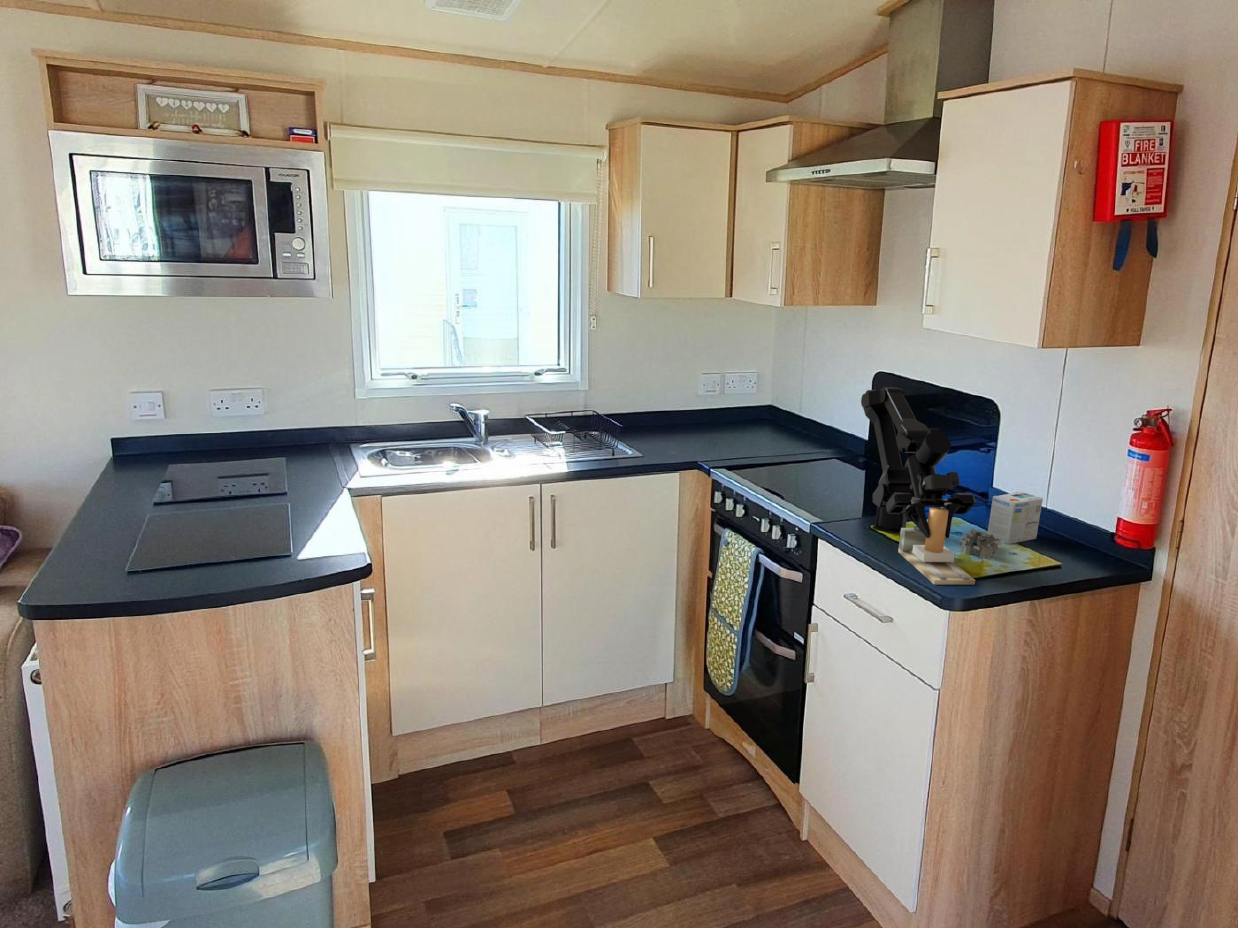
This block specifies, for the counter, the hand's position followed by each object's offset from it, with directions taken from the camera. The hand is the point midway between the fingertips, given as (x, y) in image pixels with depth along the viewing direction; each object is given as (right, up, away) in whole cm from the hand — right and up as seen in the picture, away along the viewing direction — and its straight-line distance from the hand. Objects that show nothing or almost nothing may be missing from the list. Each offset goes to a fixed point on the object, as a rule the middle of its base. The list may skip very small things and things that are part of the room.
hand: (938, 537), depth 191 cm
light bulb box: (+27, -2, +24) cm, 36 cm away
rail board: (0, -7, +2) cm, 7 cm away
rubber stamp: (0, -5, +3) cm, 5 cm away
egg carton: (+15, -5, +14) cm, 21 cm away
